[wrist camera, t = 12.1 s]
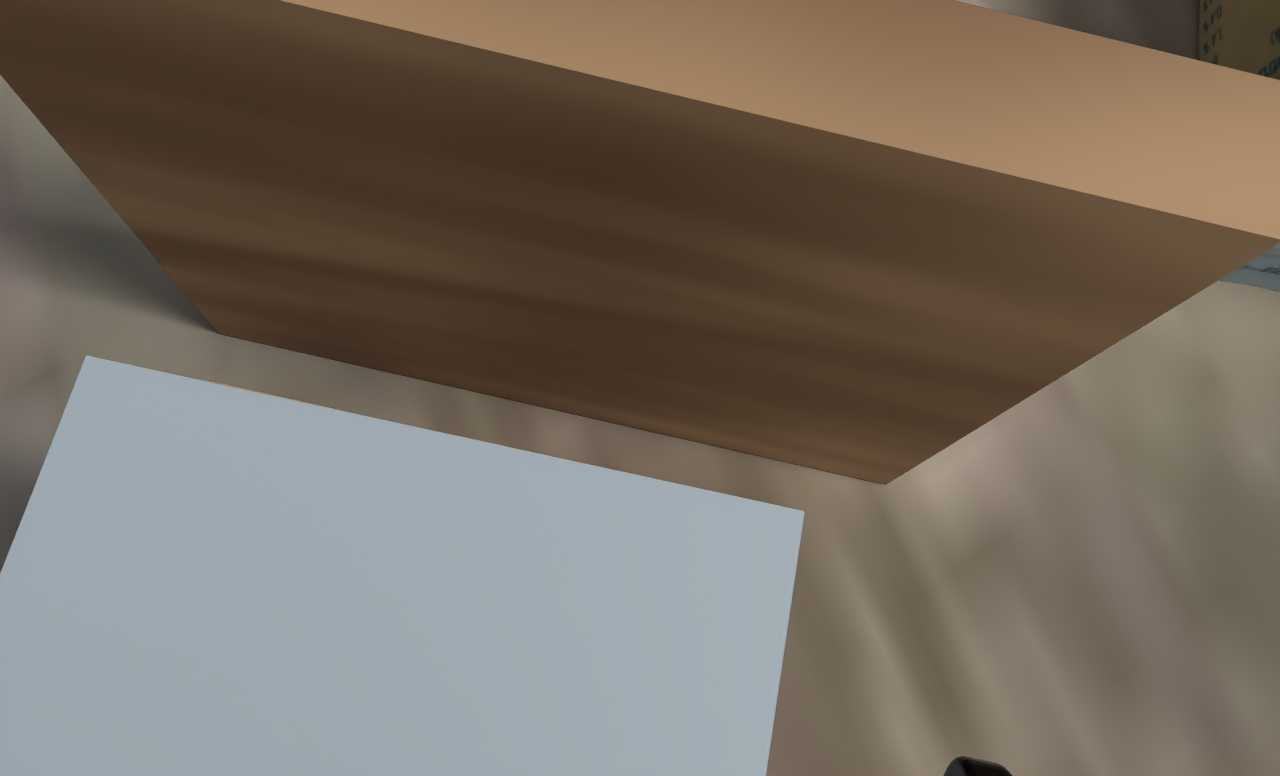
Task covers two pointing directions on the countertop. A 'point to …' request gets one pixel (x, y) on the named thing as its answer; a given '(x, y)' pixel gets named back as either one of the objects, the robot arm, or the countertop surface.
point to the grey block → (373, 601)
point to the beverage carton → (1255, 43)
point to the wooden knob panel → (667, 197)
